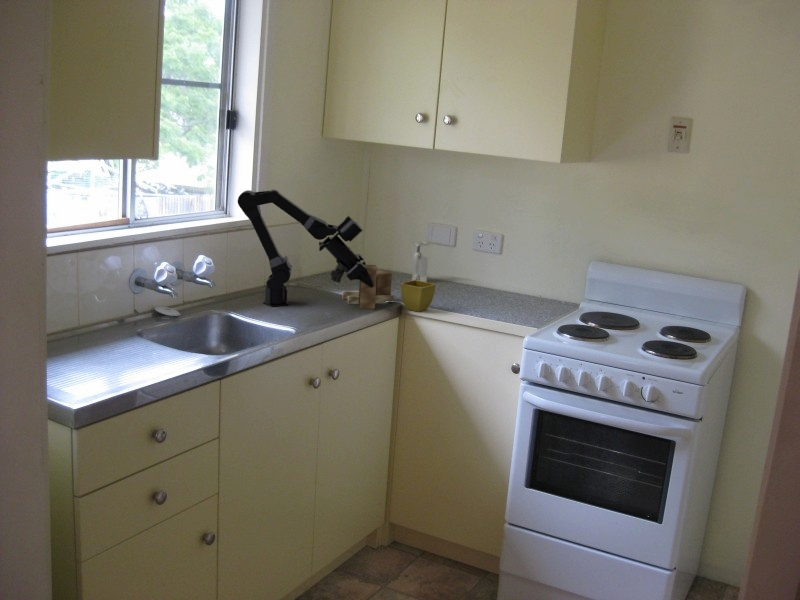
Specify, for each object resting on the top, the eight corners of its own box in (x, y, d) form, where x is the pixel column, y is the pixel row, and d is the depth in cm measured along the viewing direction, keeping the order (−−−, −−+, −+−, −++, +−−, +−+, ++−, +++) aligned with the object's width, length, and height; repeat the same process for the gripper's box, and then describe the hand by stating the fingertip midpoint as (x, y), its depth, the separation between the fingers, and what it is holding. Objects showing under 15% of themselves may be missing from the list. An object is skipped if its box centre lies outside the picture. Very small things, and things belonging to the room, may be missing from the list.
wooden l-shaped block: (348, 304, 302) (349, 275, 299) (342, 298, 310) (343, 269, 308) (393, 303, 306) (394, 274, 304) (386, 297, 315) (387, 269, 312)
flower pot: (435, 309, 300) (436, 283, 298) (420, 314, 293) (422, 287, 291) (413, 305, 304) (414, 279, 302) (398, 309, 297) (400, 283, 295)
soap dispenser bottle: (431, 281, 345) (433, 243, 341) (422, 284, 339) (424, 245, 335) (416, 279, 348) (418, 241, 345) (406, 281, 342) (408, 243, 339)
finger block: (358, 308, 296) (360, 267, 293) (358, 305, 301) (360, 264, 298) (374, 309, 296) (376, 267, 293) (374, 305, 301) (376, 265, 298)
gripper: (323, 262, 304) (354, 295, 307) (321, 273, 285) (355, 307, 289) (347, 240, 302) (378, 273, 306) (347, 249, 284) (380, 284, 287)
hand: (372, 285), depth 297 cm, fingers closed on finger block, 5 cm apart
